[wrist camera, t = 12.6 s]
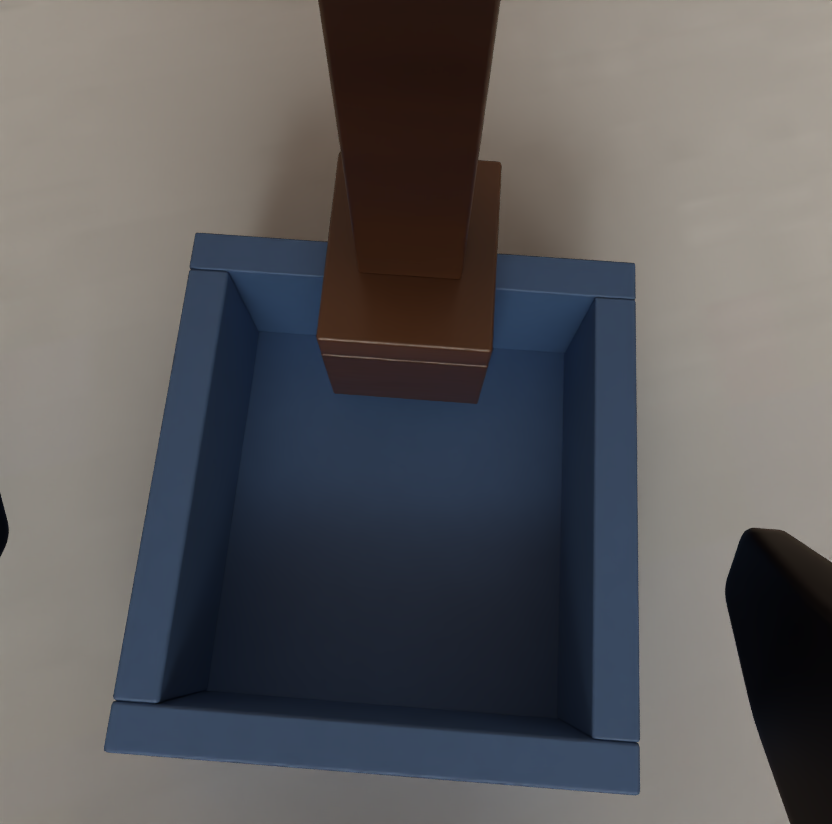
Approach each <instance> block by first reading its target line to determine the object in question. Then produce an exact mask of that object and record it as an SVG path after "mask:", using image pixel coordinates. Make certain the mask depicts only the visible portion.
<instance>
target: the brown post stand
mask: <svg viewBox="0 0 832 824" xmlns="http://www.w3.org/2000/svg"><path fill="white" fill-rule="evenodd" d="M318 2H319V9H320V16H321V23H322V29H323V36H324V43H325V49H326V56H327V63H328V70H329V76H330V83H331V90H332V97H333V103H334V110H335V117H336V124H337V130H338V137H339V144H340V151H341V152H340V153H339V155H338V162H337V170H336V178H335V186H334V195H333V203H332V211H331V219H330V227H329V236H328V244H327V252H326V260H325V268H324V277H323V285H322V293H321V301H320V309H319V317H318V326H317V334H316V338H317V342H318V345H319V348H320V351H321V355H322V358H323V361H324V365H325V368H326V371H327V374H328V377H329V380H330V383H331V386H332V389H333V392H334V393H335V394H348V395H361V396H375V397H389V398H402V399H416V400H429V401H443V402H457V403H470V404H477V403H478V400H479V397H480V393H481V390H482V386H483V383H484V379H485V376H486V372H487V369H488V363H489V361H490V357H491V354H492V350H493V332H494V311H495V291H496V271H497V250H498V230H499V210H500V189H501V169H502V166H501V163H500V162H496V161H481V160H478V158H479V151H480V143H481V136H482V129H483V122H484V115H485V108H486V100H487V93H488V86H489V79H490V72H491V65H492V57H493V50H494V43H495V36H496V29H497V22H498V14H499V7H500V0H318Z"/></svg>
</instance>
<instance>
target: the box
mask: <svg viewBox="0 0 832 824" xmlns="http://www.w3.org/2000/svg"><path fill="white" fill-rule="evenodd" d="M327 244H328V242H324V241H310V240H295V239H281V238H267V237H252V236H238V235H223V234H209V233H196V234H195V239H194V245H193V251H192V256H191V262H190V269H191V270H190V271H189V275H188V281H187V287H186V292H185V298H184V303H183V309H182V315H181V320H180V326H179V331H178V337H177V343H176V348H175V354H174V359H173V365H172V370H171V376H170V382H169V387H168V393H167V398H166V404H165V410H164V415H163V421H162V426H161V432H160V437H159V443H158V449H157V454H156V460H155V465H154V471H153V477H152V482H151V488H150V493H149V499H148V505H147V510H146V516H145V521H144V527H143V532H142V538H141V544H140V549H139V555H138V560H137V566H136V572H135V577H134V583H133V588H132V594H131V600H130V605H129V611H128V616H127V622H126V627H125V633H124V639H123V644H122V650H121V655H120V661H119V667H118V672H117V678H116V683H115V689H114V695H113V697H114V699H115V700H117V701H114V702H113V703H112V706H111V711H110V717H109V723H108V728H107V734H106V739H105V745H104V751H106V752H108V753H121V754H133V755H145V756H157V757H170V758H182V759H194V760H207V761H219V762H231V763H243V764H256V765H268V766H280V767H293V768H305V769H317V770H329V771H342V772H354V773H366V774H379V775H391V776H403V777H415V778H428V779H440V780H452V781H465V782H477V783H489V784H501V785H514V786H526V787H538V788H551V789H563V790H575V791H587V792H600V793H612V794H624V795H638V794H639V793H640V747H639V744H638V743H636V742H639V740H640V703H639V603H638V503H637V404H636V304H635V298H636V295H635V263H626V262H611V261H597V260H583V259H568V258H554V257H539V256H525V255H511V254H497V271H496V291H495V311H494V332H493V350H492V354H491V357H490V361H489V363H488V369H487V372H486V376H485V379H484V383H483V386H482V390H481V393H480V397H479V400H478V403H477V404H470V403H457V402H443V401H429V400H416V399H402V398H389V397H375V396H361V395H348V394H335V393H334V392H333V389H332V386H331V383H330V380H329V377H328V374H327V371H326V368H325V365H324V361H323V358H322V355H321V351H320V348H319V345H318V342H317V338H316V334H317V326H318V317H319V309H320V301H321V293H322V285H323V277H324V268H325V260H326V252H327Z"/></svg>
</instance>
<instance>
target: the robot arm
mask: <svg viewBox="0 0 832 824" xmlns="http://www.w3.org/2000/svg"><path fill="white" fill-rule="evenodd" d="M8 534H9V527H8V521H7V517H6V514H5V510H4V506H3V502H2V498H1V494H0V556H1V554H2V552H3V550H4V548H5V546H6V543H7V540H8ZM725 597H726V603H727V608H728V612H729V616H730V621H731V625H732V629H733V634H734V638H735V642H736V647H737V651H738V655H739V660H740V664H741V668H742V673H743V677H744V682H745V686H746V690H747V695H748V699H749V703H750V706H751V710H752V714H753V718H754V721H755V724H756V727H757V730H758V733H759V736H760V739H761V742H762V745H763V748H764V751H765V753H766V756H767V759H768V762H769V765H770V768H771V770H772V773H773V776H774V779H775V782H776V785H777V787H778V790H779V793H780V796H781V799H782V802H783V804H784V807H785V810H786V813H787V816H788V818H789V821H790V824H832V562H830V561H829V560H827V559H826V558H824V557H823V556H821V555H820V554H818V553H817V552H815V551H814V550H812V549H811V548H809V547H808V546H806V545H805V544H803V543H802V542H800V541H799V540H797V539H796V538H794V537H793V536H791V535H790V534H788V533H787V532H785V531H782V530H776V529H762V528H750V529H748V530H746V531H745V532H744V533H743V535H742V536H741V539H740V541H739V544H738V547H737V550H736V553H735V556H734V559H733V562H732V565H731V568H730V571H729V574H728V577H727V581H726V587H725Z"/></svg>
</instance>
